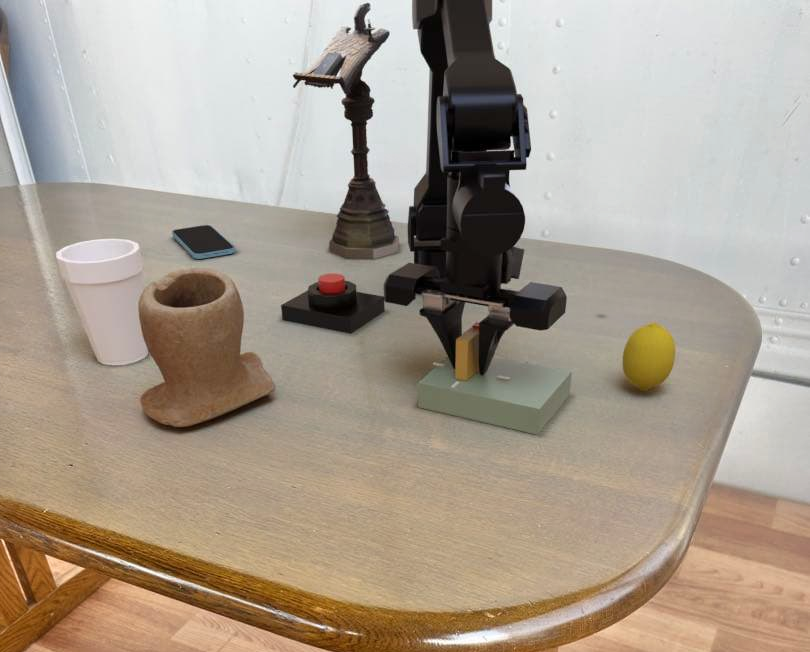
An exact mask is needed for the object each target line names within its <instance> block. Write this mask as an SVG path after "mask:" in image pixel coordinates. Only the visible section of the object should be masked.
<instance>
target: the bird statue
mask: <svg viewBox="0 0 810 652" xmlns="http://www.w3.org/2000/svg"><path fill="white" fill-rule="evenodd" d="M370 11H371V3H370V2H366V3H363V4H360V5H359V6H357V8H356V10H355V13H354V15H353V23H354V25H353V26H354V27H353V28H354V29H353V31H352V33H351V32H350V31H351V30H352V27H350V26H341V28H340V29H338V30H337V32H336V33H335V35H333V37H332V39H331V40H330V42H329V43H328V44H327V46H326V47H324V49H323V51H322V52H321V54H319V56H318V57H317V58H316V59H315V61H314V62H313V63H312V64H311V65H310V66H309V67H308V68H307V70H305V72H304V73H303V72H296V71H295V72H294V73H293V74H292V77H293V78H294V80H296V81H295V83H293V85H292V88H293V89H296V87H297V86H298V85H299V84H300V82H302V81H304V82H303V84H304V86H311V87H314V88H316V87H317V88H318V89H319V88H320V89H322V88H324V89H325V88H327V89H329V88H330V89H331V90H333V89H334V85H337V84H338V85H340V88H341V90H342V92H343V93H344V94H345V97H344V98H342V99H341V105H343V108H344V111H343V115H344V117H343V118H345V119H346V120H348V121H349V122H351V123H350V127H351V135H352V137H351V138H352V149H351V151H350V153H351V155H352V157H353V172H354V173H353V178H351V179H350V181H349V182H348V184H347V187H348V189H347V192H346V195H345V198H344V201H343V203H342V204H341V205H340V208H339V211H338V212H337V215H336V217H337V220H336V223H335V227H334V231H333V234H332V236H331V239H330V241H329V242H328V244H329V245H328V246H329V253H331V254H333V255H336V256H339V257H341V258H345V259H351V260H352V259H353V260H375V259H378V258H382V257H386V256H390V255H393V254H397V252H398V249H399V246H400V236H399V235H397V234H395V228H394V226H393V222H392V220H391V216H390V215H389V212H390V210H389V209H387V208H386V204H385V203H384V202H383V200H382V198H381V195H380V194H379V191H378V189H377V186H376V183H377V182H376V181H375V180H374V178H372V177H371V175H370V174H369V168H368V167H369V160H368V154H369V152H370V151H371V150H370V148H369V146H368V141H367V140H368V138H367V137H368V136H367V125H368V121H369V120H372V118H373V116H374V110H373V109H372V108H373V105H374V104H375V99H374V97H372V96H371V88H370V86H369V85H368V84H367V82H366V81H364V80H362V76H363V71H364V68H365V66H366V65H367V63H368V62H369V61H370V60H371V58H372V57H373V55H375V53H376V52H377V51H378V50H379V49H380V48H381V46H382V45H383V44H384V43H386V42H387V40H388V38H389V37H390V33H391V31H389V30H388V29H386V28H379V29H377V30H376V27H374V26H372V22H371V20H370V18H368V19H367V25H366V19H365V18H366V16H367V14H368V13H369V12H370ZM375 30H376V31H375ZM372 31H375V32H372ZM338 74H339V76H338Z"/></svg>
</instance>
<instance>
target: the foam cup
mask: <svg viewBox="0 0 810 652" xmlns="http://www.w3.org/2000/svg"><path fill="white" fill-rule="evenodd" d="M141 253H142V252H141V249H140V245H139V243H138V242H135V241H133V240H130V239H123V238H100V239H99V238H98V239H97V238H96V239H90V240H85V241H80V242H76V243H72V244H70V245H67V246H63V247H62V248H61V249H59V250H58V251H56V252H55V254H56V255H55V257H56V262H57V265H58V269H59V273H60V277H61V279H63V281H64V282H65V284H66V288H67V290H68V292H69V294H70V297H71V299H72V302H73V304H74V307H75V310H76V312H77V314H78V317H79V320H80V322H81V324H82V326H83V330H84V331H85V334H86V336H87V339H88V341H89V343H90V346H91V349H92V351H93V354H94V356H95V357H96V360H97V362H99V364H102V365H105V366H125V365H130V364H134V363H137V362H139V361H141V360H144V359H146V357H147V356H148V355H149V350H148V348H147V346H146V344H145V341H144V338H143V334H142V330H141V325H140V319H139V310H138V305H139V299H140V296H141V294H142V293H143V291H144V289H145V288H144V277H143V270H144V269H145V268H144V264H143V259H142V254H141Z"/></svg>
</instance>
